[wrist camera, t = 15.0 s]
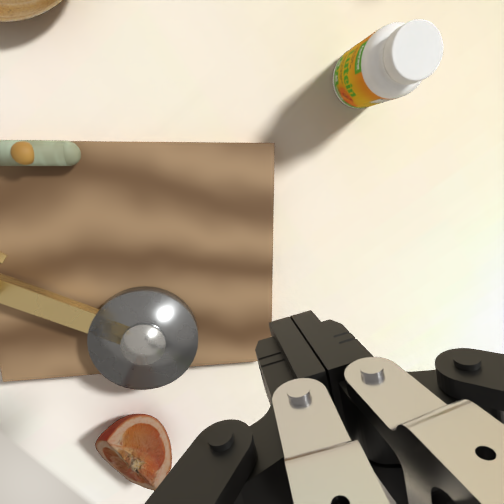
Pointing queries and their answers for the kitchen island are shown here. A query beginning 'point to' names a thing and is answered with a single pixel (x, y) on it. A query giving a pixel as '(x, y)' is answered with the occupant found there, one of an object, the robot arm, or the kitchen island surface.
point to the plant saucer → (24, 9)
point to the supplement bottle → (388, 63)
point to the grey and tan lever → (120, 330)
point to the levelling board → (136, 241)
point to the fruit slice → (137, 449)
